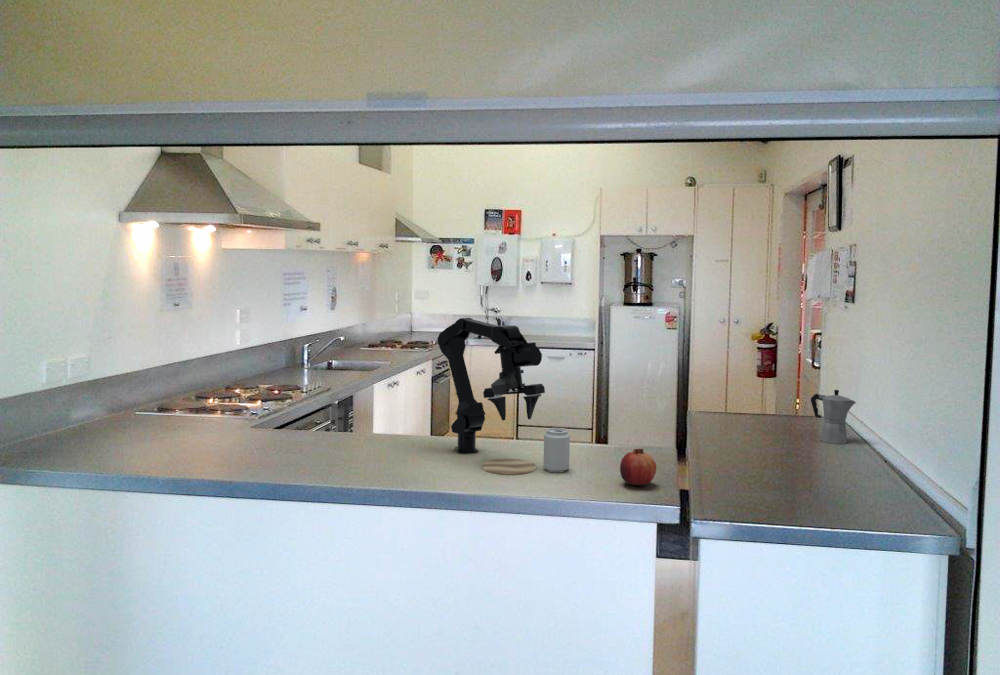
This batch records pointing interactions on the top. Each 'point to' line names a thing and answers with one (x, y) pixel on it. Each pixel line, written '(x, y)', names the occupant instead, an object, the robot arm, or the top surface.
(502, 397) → the robot arm
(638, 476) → the fruit
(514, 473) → the trivet
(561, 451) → the can
